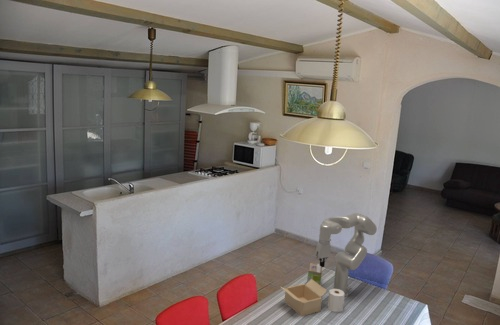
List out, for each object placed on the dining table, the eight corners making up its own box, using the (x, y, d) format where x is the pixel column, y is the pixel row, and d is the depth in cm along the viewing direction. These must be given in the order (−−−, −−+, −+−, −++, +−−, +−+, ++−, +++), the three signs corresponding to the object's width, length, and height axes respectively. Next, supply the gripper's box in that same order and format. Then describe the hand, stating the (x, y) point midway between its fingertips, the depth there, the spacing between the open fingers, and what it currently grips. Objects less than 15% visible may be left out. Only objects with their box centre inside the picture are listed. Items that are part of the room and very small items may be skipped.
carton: (302, 296, 288) (303, 283, 286) (320, 311, 270) (322, 298, 268) (284, 301, 281) (285, 288, 279) (301, 316, 263) (302, 303, 261)
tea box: (319, 291, 298) (321, 272, 295) (306, 288, 300) (308, 270, 297) (320, 281, 312) (322, 264, 309) (307, 279, 314) (309, 262, 311)
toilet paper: (342, 313, 269) (343, 297, 267) (326, 310, 272) (328, 294, 270) (343, 306, 279) (345, 290, 276) (328, 302, 282) (330, 287, 280)
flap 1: (280, 286, 274) (280, 286, 274) (295, 299, 259) (294, 299, 259) (286, 288, 277) (286, 289, 277) (301, 301, 262) (300, 301, 262)
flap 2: (305, 284, 285) (305, 284, 285) (320, 296, 270) (321, 296, 270) (311, 278, 287) (311, 279, 287) (327, 290, 272) (327, 290, 272)
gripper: (329, 238, 280) (326, 262, 284) (312, 241, 273) (310, 265, 277) (336, 241, 274) (333, 266, 278) (319, 245, 267) (316, 270, 270)
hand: (321, 266), depth 277 cm, fingers closed
